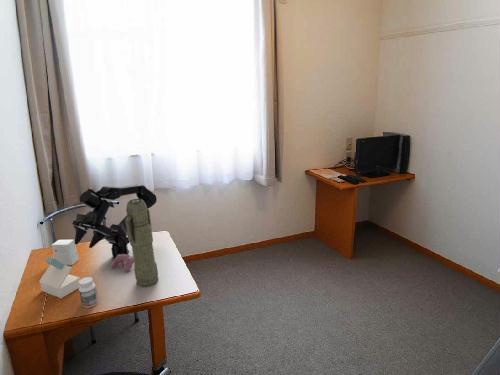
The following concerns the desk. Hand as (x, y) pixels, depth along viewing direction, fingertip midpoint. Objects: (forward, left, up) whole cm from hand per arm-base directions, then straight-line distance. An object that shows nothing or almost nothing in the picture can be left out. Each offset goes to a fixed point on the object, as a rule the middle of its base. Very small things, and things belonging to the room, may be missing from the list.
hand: (82, 246), depth 149 cm
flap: (+9, +10, -6) cm, 15 cm away
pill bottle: (-6, +24, -14) cm, 28 cm away
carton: (+8, +10, -13) cm, 18 cm away
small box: (+12, -14, -14) cm, 23 cm away
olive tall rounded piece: (-26, +14, -14) cm, 32 cm away
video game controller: (-15, -1, -14) cm, 20 cm away
